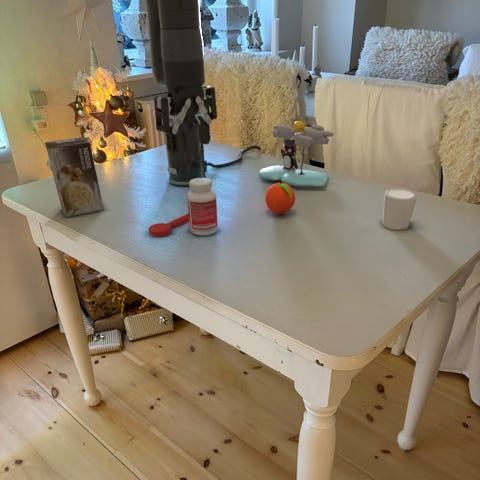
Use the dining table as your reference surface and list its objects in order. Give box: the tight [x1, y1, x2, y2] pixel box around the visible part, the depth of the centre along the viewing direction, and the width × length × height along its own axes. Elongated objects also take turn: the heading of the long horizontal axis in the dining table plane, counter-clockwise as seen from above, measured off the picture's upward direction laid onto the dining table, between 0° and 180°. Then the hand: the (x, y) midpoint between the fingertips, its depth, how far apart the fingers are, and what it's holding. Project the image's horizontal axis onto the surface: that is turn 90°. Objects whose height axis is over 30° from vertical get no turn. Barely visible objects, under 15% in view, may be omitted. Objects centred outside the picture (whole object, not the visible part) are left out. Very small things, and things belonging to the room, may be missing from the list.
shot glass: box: [382, 188, 418, 231], centre depth 107 cm, size 7×7×7 cm
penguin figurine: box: [258, 120, 334, 189], centre depth 129 cm, size 20×11×15 cm, turn 53°
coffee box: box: [44, 136, 105, 218], centre depth 115 cm, size 9×6×16 cm
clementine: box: [264, 182, 296, 214], centre depth 113 cm, size 8×7×7 cm
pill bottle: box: [186, 177, 219, 236], centre depth 105 cm, size 6×6×11 cm
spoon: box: [148, 212, 189, 238], centre depth 111 cm, size 17×5×1 cm, turn 141°
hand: (189, 148), depth 98 cm, fingers open, 8 cm apart
